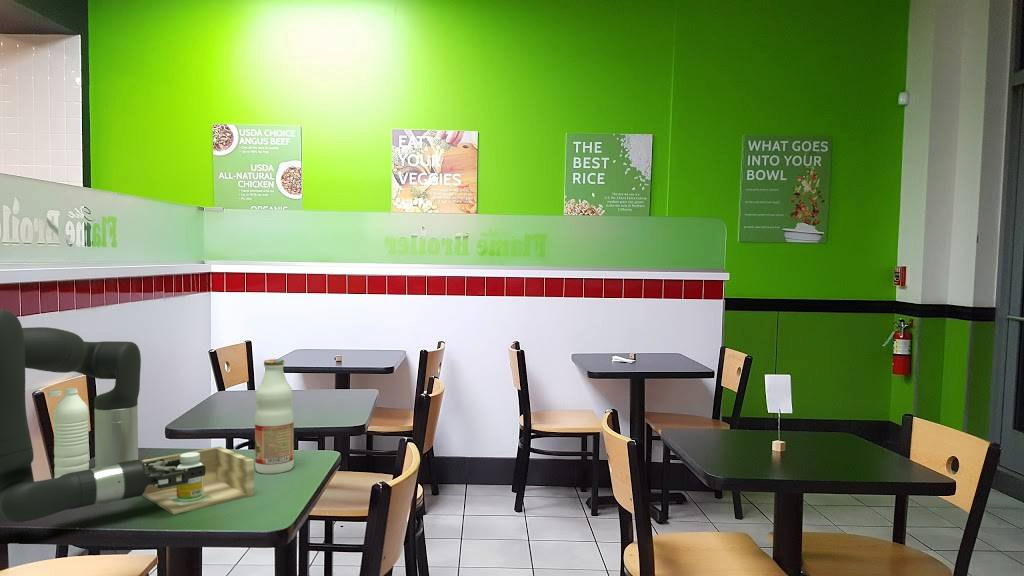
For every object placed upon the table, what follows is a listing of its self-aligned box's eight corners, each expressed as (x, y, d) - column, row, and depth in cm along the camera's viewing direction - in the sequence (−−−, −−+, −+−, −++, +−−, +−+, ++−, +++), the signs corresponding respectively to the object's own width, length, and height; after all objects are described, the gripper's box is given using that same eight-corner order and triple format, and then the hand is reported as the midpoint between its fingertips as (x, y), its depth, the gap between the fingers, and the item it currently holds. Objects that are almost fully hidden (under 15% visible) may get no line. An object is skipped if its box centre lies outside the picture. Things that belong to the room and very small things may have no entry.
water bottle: (71, 495, 157) (70, 385, 157) (96, 497, 156) (95, 386, 155) (38, 508, 149) (36, 391, 148) (64, 510, 147) (63, 392, 147)
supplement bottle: (182, 494, 156) (181, 451, 156) (207, 494, 157) (206, 451, 156) (172, 502, 151) (172, 457, 150) (198, 502, 151) (198, 457, 151)
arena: (142, 495, 157) (142, 460, 157) (220, 479, 170) (219, 446, 170) (173, 514, 145) (172, 476, 145) (254, 495, 158) (253, 459, 158)
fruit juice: (278, 476, 173) (278, 363, 172) (247, 472, 176) (246, 361, 175) (301, 466, 182) (301, 358, 181) (270, 462, 185) (270, 357, 184)
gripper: (128, 470, 138) (210, 455, 150) (104, 457, 148) (183, 443, 159) (128, 508, 138) (210, 489, 150) (105, 492, 148) (183, 476, 160)
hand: (196, 466), depth 155 cm, fingers open, 8 cm apart
